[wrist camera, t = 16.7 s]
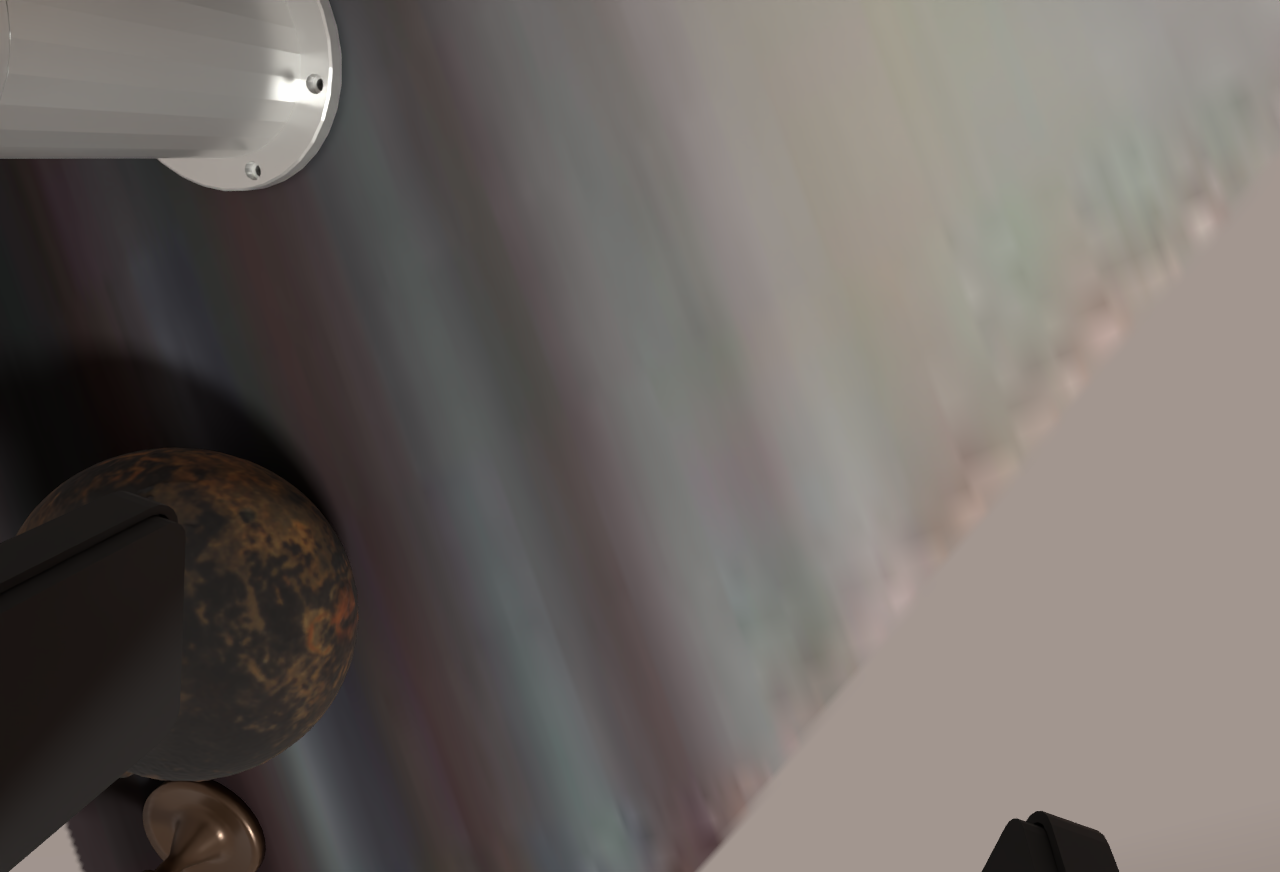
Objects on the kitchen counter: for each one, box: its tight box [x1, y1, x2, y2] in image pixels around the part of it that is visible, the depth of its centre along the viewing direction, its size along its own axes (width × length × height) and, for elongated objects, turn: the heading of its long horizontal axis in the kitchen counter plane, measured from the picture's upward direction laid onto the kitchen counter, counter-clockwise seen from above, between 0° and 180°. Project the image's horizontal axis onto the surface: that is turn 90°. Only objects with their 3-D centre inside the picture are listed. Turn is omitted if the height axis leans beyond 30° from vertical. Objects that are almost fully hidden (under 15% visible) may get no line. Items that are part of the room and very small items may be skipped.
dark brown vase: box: [16, 448, 359, 782], centre depth 36 cm, size 18×18×28 cm
